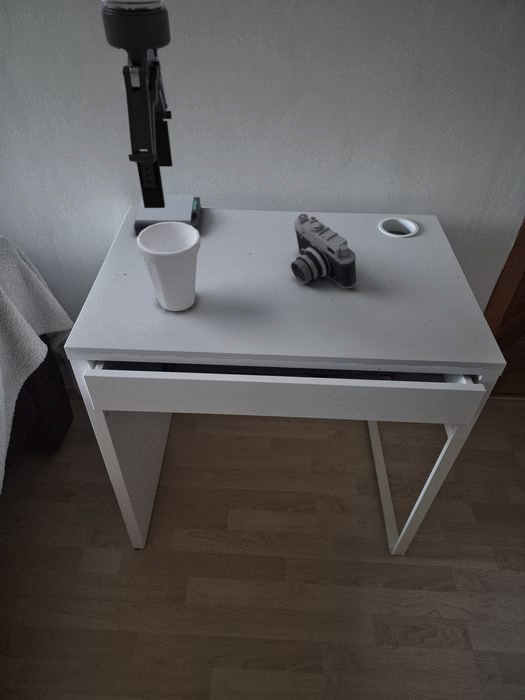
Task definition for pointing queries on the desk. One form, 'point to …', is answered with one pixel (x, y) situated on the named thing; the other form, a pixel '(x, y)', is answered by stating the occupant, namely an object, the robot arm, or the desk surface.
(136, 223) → the scale
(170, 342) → the desk surface
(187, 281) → the cup
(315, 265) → the camera
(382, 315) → the desk surface
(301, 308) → the desk surface
